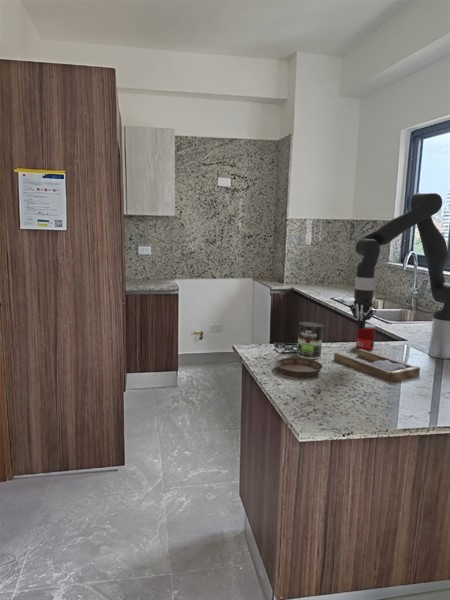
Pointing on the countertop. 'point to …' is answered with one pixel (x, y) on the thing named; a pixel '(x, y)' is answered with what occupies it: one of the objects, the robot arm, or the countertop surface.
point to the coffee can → (310, 340)
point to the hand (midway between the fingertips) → (360, 329)
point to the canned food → (366, 337)
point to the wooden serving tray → (377, 371)
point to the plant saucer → (299, 367)
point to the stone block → (388, 365)
